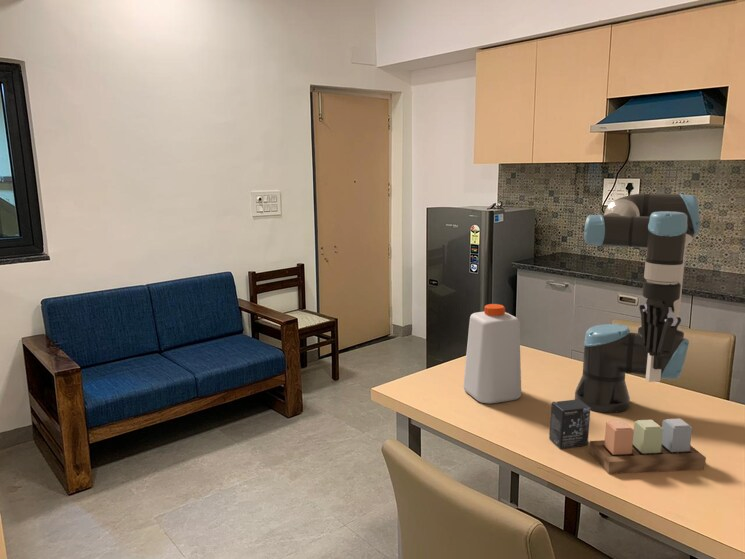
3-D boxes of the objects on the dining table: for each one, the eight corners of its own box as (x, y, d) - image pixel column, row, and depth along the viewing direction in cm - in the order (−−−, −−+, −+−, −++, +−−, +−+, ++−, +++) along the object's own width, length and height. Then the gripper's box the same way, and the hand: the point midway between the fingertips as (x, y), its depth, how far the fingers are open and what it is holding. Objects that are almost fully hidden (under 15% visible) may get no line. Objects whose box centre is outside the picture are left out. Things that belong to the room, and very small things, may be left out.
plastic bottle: (500, 381, 187) (503, 298, 181) (526, 399, 173) (531, 309, 167) (458, 388, 182) (460, 302, 176) (482, 407, 168) (484, 314, 162)
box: (560, 450, 143) (562, 410, 141) (548, 439, 148) (550, 401, 146) (588, 446, 145) (591, 407, 142) (575, 435, 150) (578, 398, 148)
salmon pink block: (613, 454, 134) (615, 429, 133) (604, 445, 138) (606, 420, 137) (631, 453, 134) (634, 428, 133) (622, 444, 139) (624, 419, 137)
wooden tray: (608, 473, 132) (609, 461, 131) (589, 452, 142) (590, 440, 141) (704, 469, 133) (705, 457, 133) (679, 448, 143) (680, 437, 143)
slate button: (671, 452, 135) (673, 426, 134) (660, 442, 139) (663, 418, 138) (689, 451, 135) (692, 426, 134) (678, 442, 140) (681, 417, 138)
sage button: (642, 453, 135) (644, 428, 133) (632, 444, 139) (634, 419, 138) (660, 452, 135) (663, 427, 133) (650, 443, 139) (652, 418, 138)
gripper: (696, 286, 123) (685, 390, 127) (661, 275, 135) (652, 370, 140) (662, 287, 122) (652, 391, 127) (631, 275, 135) (623, 371, 139)
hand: (652, 380), depth 133 cm, fingers closed
